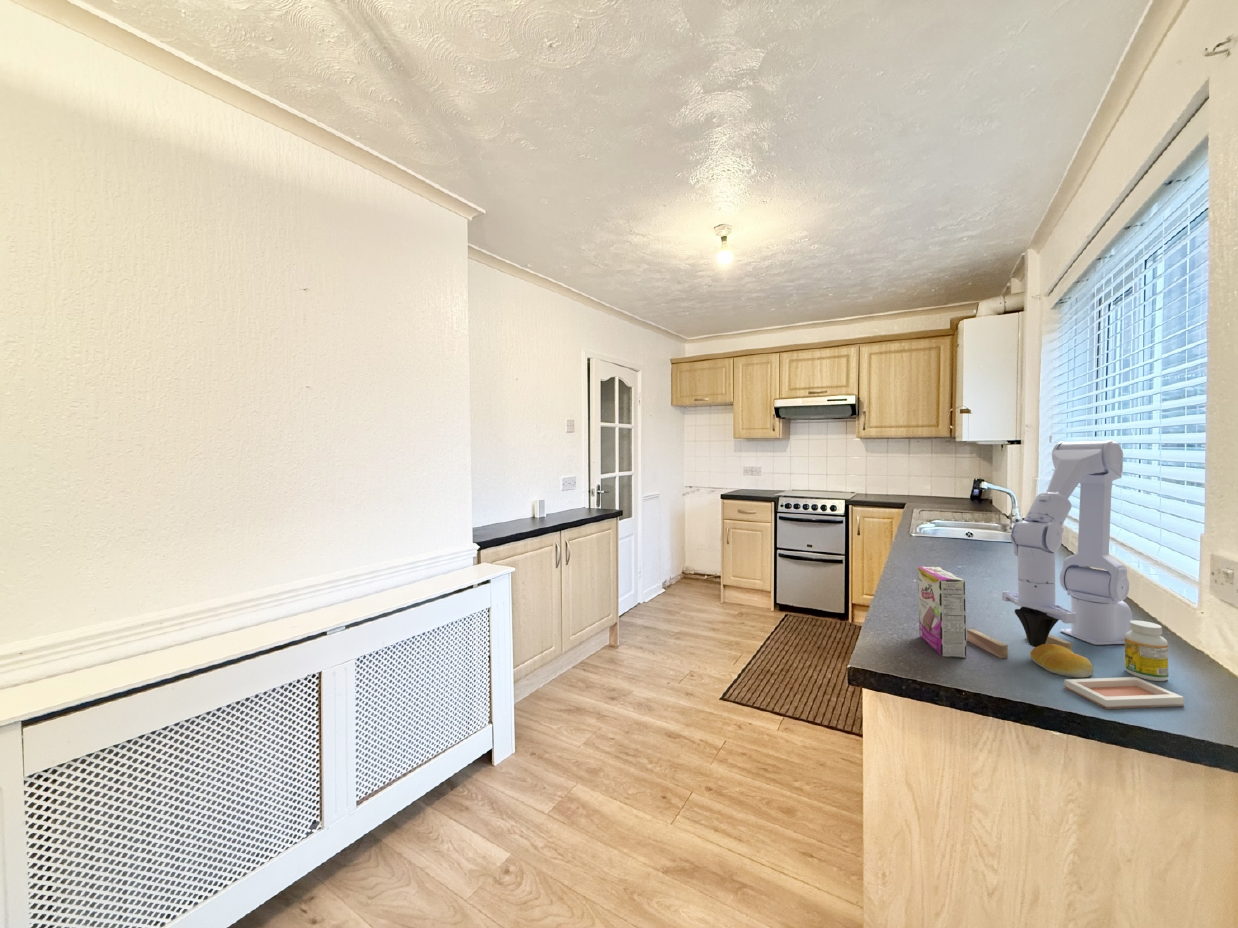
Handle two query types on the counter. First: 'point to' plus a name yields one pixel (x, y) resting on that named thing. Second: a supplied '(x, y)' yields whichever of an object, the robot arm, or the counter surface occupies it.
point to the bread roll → (1061, 661)
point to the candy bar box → (942, 611)
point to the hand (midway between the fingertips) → (1036, 646)
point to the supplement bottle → (1146, 651)
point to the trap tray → (1123, 693)
